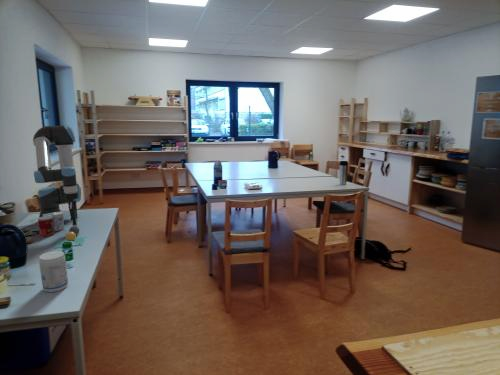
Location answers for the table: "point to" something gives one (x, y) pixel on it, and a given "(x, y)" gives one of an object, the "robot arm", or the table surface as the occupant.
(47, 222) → the canned food
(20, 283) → the table surface
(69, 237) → the orange ball
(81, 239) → the teal mark
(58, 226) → the light bulb box
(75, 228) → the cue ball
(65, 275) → the supplement tub
